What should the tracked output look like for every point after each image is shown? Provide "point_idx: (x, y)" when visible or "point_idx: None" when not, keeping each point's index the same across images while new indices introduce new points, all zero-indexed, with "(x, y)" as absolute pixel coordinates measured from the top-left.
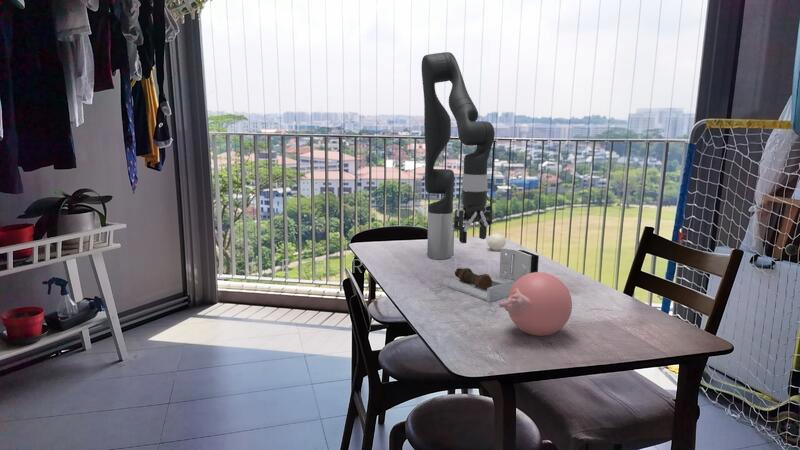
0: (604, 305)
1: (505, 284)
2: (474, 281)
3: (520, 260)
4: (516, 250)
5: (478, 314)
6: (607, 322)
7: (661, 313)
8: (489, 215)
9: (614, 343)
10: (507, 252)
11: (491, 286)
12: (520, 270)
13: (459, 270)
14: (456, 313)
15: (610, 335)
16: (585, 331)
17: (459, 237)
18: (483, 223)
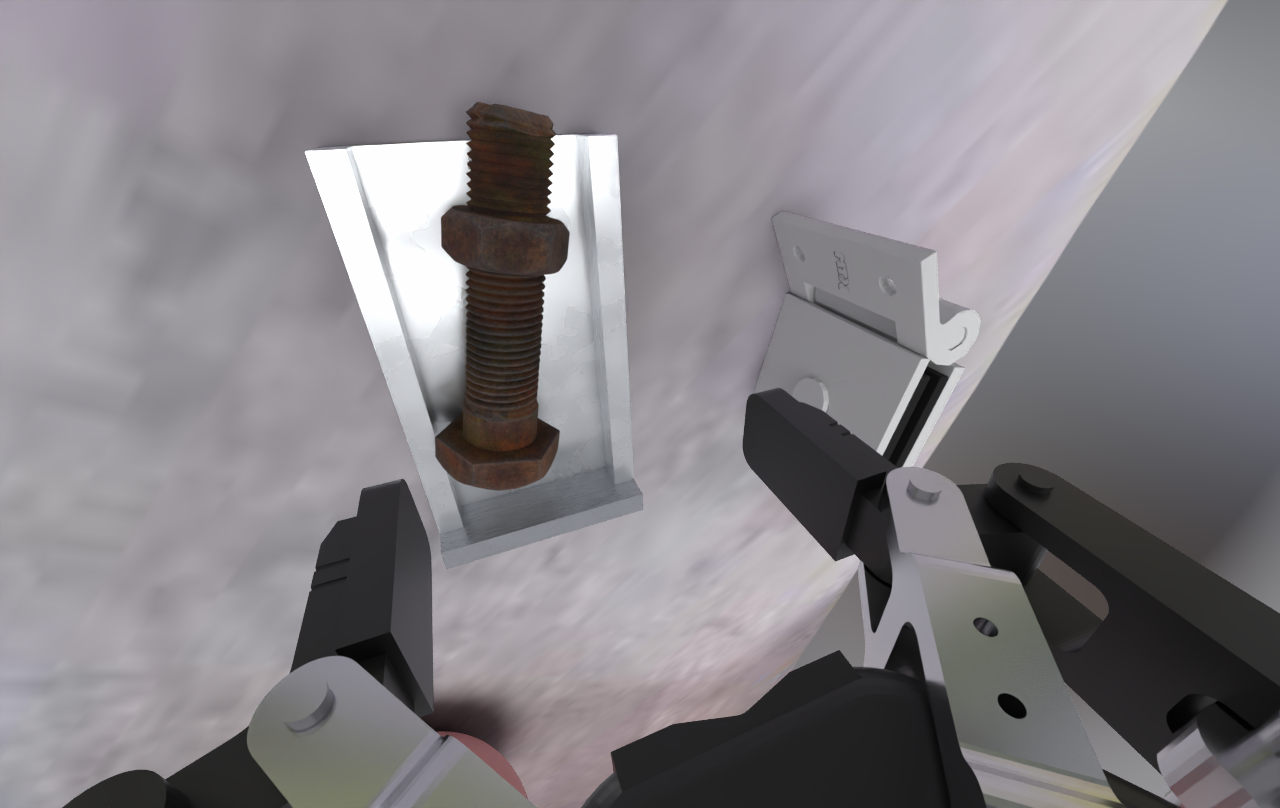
0: (759, 606)
1: (570, 529)
2: (465, 402)
3: (852, 393)
4: (920, 369)
5: (289, 623)
6: (656, 692)
7: (798, 656)
8: (1092, 705)
9: (559, 777)
10: (902, 301)
11: (588, 374)
12: (803, 381)
13: (490, 169)
14: (160, 602)
15: (591, 747)
16: (558, 734)
17: (316, 577)
18: (868, 626)
